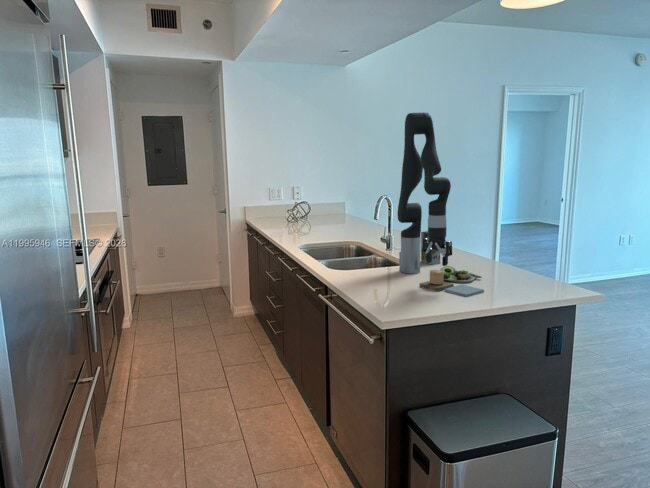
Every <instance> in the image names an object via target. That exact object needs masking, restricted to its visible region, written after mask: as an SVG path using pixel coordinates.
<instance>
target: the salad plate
mask: <svg viewBox="0 0 650 488" xmlns="http://www.w3.org/2000/svg"><path fill="white" fill-rule="evenodd" d="M440 270H441V271H443V274H444V282H448V283H453V284H455V283H457V284H465V283H468V284H469V283H472V282H474V280H476V279H481V278H483V277H482V276H480V275H477V274H474V273H472V272H469V271H467V270H464V269H462V270H456V268H454V267H453V266H451V265H450V266H449V265H447V266H443V267H441V268H440Z"/></svg>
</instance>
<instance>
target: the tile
mask: <svg viewBox="0 0 650 488" xmlns="http://www.w3.org/2000/svg"><path fill="white" fill-rule="evenodd" d="M444 292H445V293H449V294H453V295H457V296H461V297H465V298H467V297H471V296H472V297H473V296H474V295H475V296H476V295H478V294H481V293H484V292H485V289H484V288H478V287H474V286H470V285H466V284H464V283H460V284H458V285H455V286H454V287H450V288H446V289H445V290H444Z"/></svg>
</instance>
